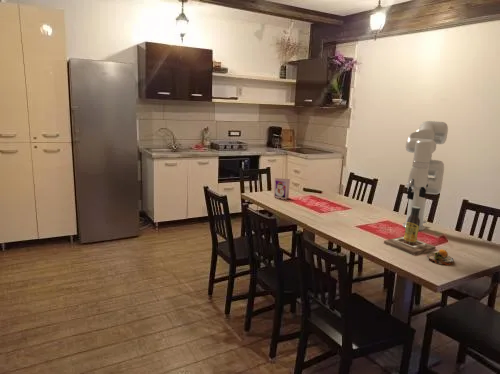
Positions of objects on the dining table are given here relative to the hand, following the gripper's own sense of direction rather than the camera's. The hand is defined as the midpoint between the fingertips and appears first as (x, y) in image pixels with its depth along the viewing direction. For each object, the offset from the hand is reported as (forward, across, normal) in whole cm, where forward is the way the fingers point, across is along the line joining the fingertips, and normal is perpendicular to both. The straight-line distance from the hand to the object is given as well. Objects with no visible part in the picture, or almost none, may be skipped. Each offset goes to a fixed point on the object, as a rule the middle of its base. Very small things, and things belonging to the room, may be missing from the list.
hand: (416, 198), depth 195 cm
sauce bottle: (+25, 0, 0) cm, 25 cm away
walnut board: (+26, 0, 0) cm, 26 cm away
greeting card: (+27, 0, -112) cm, 115 cm away
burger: (+26, +3, +19) cm, 33 cm away
